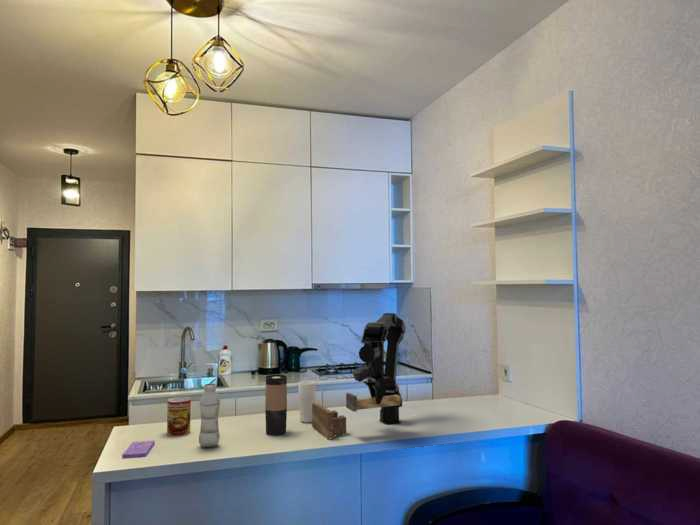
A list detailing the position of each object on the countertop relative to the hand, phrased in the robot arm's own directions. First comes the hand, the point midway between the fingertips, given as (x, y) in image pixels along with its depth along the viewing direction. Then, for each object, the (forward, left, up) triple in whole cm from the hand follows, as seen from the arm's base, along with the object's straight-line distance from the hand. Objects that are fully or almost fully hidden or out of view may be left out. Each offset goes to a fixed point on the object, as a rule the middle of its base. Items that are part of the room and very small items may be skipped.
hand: (376, 403), depth 175 cm
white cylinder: (+17, -27, -11) cm, 33 cm away
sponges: (+77, -15, -12) cm, 79 cm away
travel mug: (+32, -17, -11) cm, 38 cm away
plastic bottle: (+56, -11, -11) cm, 58 cm away
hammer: (0, 0, -1) cm, 1 cm away
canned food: (+64, -31, -11) cm, 72 cm away
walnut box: (+13, -10, -11) cm, 19 cm away
